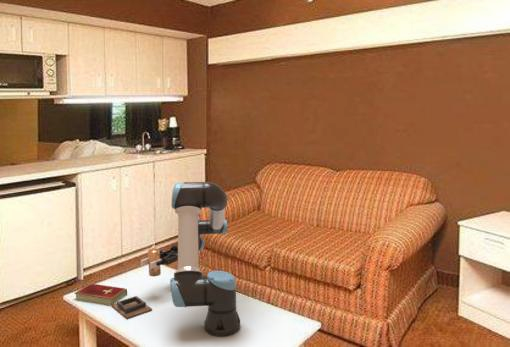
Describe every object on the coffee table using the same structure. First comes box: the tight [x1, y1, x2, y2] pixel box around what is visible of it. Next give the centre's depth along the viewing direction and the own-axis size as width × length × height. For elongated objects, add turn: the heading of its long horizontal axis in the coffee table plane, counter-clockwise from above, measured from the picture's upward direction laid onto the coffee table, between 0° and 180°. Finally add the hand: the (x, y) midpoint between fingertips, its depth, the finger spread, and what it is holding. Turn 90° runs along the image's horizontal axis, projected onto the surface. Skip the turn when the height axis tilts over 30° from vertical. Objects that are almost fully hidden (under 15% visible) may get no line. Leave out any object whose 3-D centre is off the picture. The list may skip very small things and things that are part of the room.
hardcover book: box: [74, 283, 128, 306], centre depth 206 cm, size 12×21×4 cm, turn 72°
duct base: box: [111, 295, 153, 320], centre depth 195 cm, size 16×12×3 cm
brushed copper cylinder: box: [147, 248, 162, 277], centre depth 205 cm, size 6×6×12 cm
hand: (146, 264), depth 200 cm, fingers closed on brushed copper cylinder, 5 cm apart
